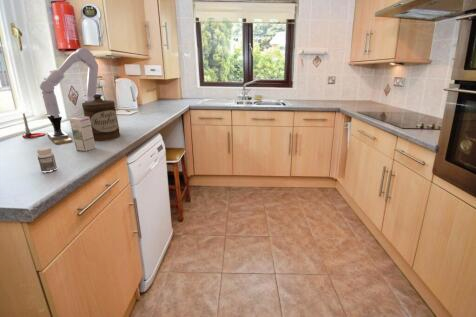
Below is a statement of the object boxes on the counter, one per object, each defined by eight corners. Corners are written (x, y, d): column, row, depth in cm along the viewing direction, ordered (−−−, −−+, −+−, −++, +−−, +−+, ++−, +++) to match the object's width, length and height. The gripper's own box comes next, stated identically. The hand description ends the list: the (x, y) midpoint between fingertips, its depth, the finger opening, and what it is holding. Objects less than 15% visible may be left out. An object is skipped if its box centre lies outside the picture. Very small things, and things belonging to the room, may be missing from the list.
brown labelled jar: (98, 143, 133) (89, 96, 126) (83, 138, 141) (74, 94, 134) (125, 136, 144) (119, 93, 137) (110, 132, 152) (103, 92, 145)
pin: (61, 131, 154) (58, 117, 152) (63, 132, 151) (60, 118, 149) (52, 132, 152) (49, 118, 149) (54, 133, 149) (51, 119, 146)
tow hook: (35, 134, 153) (20, 138, 145) (30, 111, 150) (15, 113, 141) (49, 134, 152) (35, 138, 143) (44, 111, 148) (29, 113, 140)
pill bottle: (46, 168, 101) (40, 146, 98) (59, 168, 102) (54, 146, 99) (38, 173, 97) (32, 151, 94) (52, 173, 97) (47, 150, 94)
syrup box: (96, 148, 125) (90, 116, 120) (85, 152, 120) (78, 118, 115) (86, 147, 127) (80, 115, 122) (75, 150, 122) (68, 118, 117)
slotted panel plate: (63, 135, 149) (62, 130, 148) (72, 141, 136) (71, 137, 135) (48, 137, 145) (47, 132, 144) (55, 144, 131) (54, 139, 131)
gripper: (40, 103, 149) (46, 128, 153) (44, 106, 139) (51, 132, 143) (55, 102, 153) (60, 126, 158) (60, 104, 143) (66, 130, 148)
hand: (57, 129), depth 151 cm, fingers closed on pin, 4 cm apart
